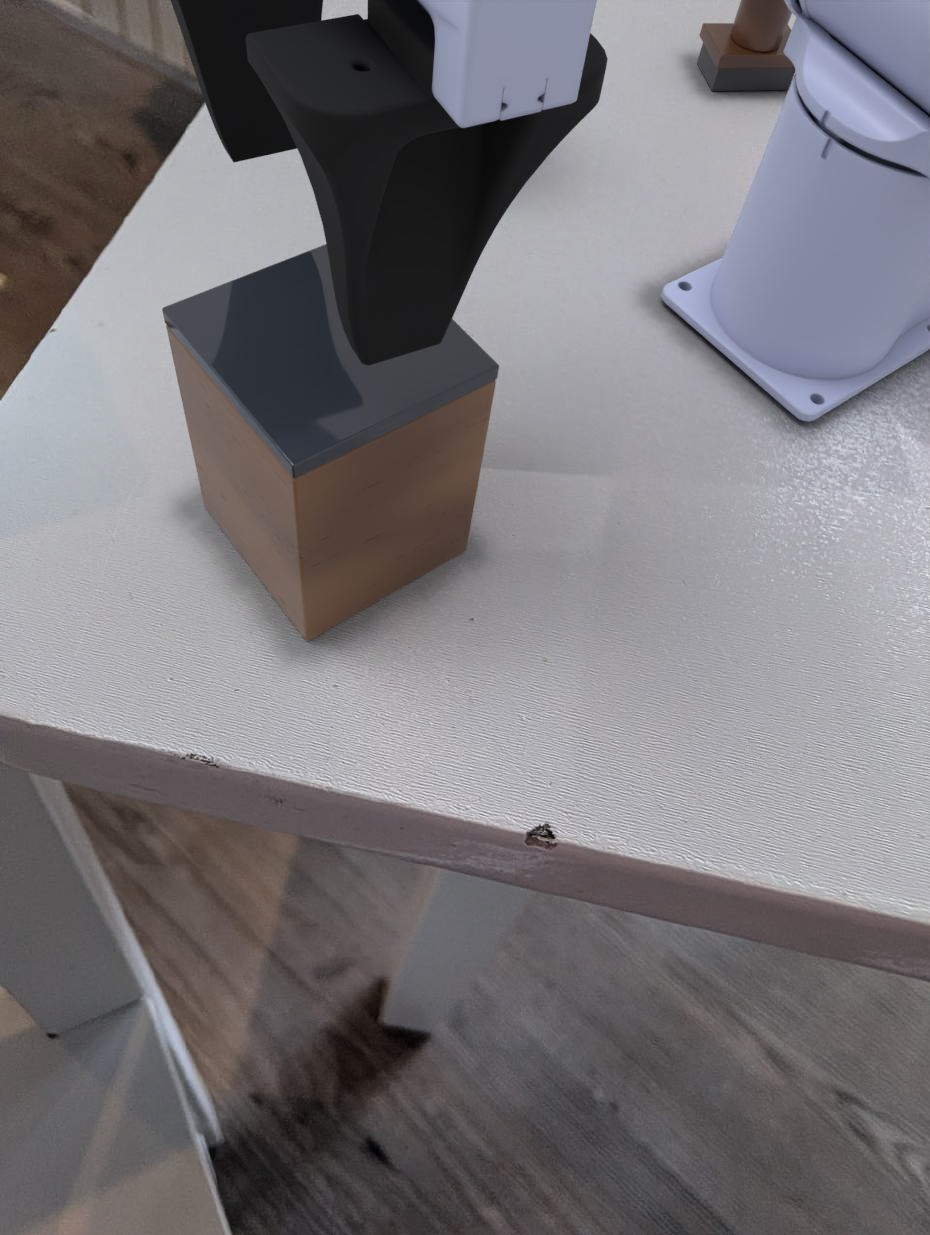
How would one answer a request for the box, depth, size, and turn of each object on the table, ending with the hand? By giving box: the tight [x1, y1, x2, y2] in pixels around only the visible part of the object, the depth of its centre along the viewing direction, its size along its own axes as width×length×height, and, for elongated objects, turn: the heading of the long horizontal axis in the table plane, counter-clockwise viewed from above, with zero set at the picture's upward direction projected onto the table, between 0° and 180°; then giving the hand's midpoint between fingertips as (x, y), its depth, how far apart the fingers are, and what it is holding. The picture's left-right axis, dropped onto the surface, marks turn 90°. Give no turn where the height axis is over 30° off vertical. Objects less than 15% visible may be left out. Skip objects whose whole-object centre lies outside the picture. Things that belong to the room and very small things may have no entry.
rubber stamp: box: [696, 0, 796, 92], centre depth 45 cm, size 4×3×5 cm, turn 101°
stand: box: [165, 324, 497, 642], centre depth 27 cm, size 6×6×8 cm
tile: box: [161, 243, 500, 479], centre depth 24 cm, size 6×6×1 cm
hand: (327, 239), depth 23 cm, fingers open, 7 cm apart
